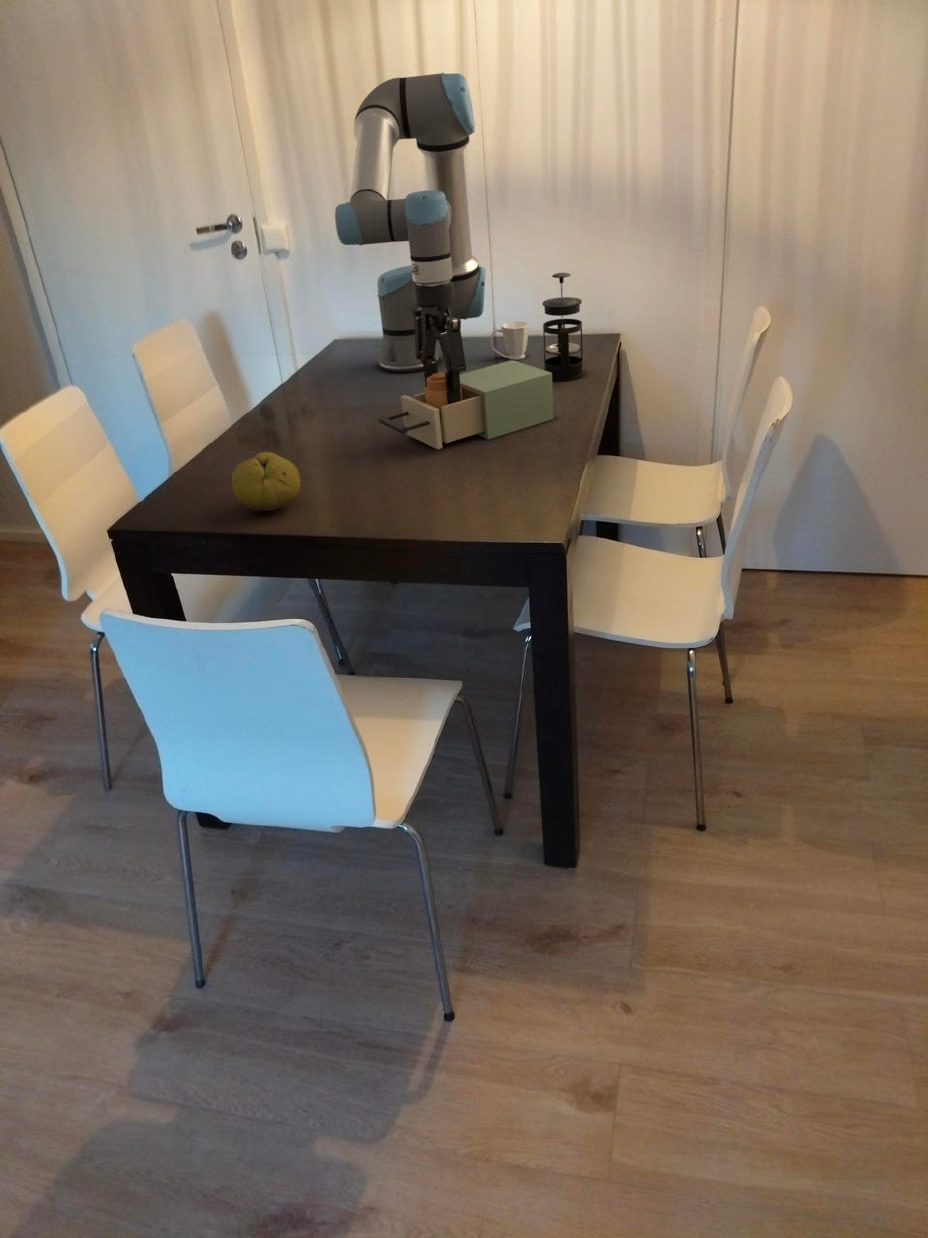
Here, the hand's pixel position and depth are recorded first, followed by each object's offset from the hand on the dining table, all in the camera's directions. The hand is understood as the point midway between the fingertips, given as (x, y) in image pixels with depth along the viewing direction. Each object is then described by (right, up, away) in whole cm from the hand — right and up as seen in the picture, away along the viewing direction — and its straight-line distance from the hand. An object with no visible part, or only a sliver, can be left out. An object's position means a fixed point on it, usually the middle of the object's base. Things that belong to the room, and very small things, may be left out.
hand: (443, 400), depth 187 cm
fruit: (-30, -24, -20) cm, 43 cm away
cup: (+16, +23, +50) cm, 58 cm away
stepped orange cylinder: (0, -1, 0) cm, 1 cm away
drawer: (-1, -6, +3) cm, 7 cm away
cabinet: (+12, -2, +10) cm, 16 cm away
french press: (+28, +14, +34) cm, 46 cm away
